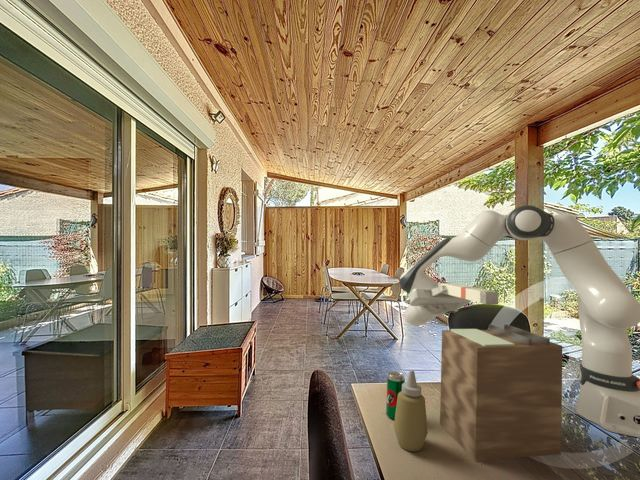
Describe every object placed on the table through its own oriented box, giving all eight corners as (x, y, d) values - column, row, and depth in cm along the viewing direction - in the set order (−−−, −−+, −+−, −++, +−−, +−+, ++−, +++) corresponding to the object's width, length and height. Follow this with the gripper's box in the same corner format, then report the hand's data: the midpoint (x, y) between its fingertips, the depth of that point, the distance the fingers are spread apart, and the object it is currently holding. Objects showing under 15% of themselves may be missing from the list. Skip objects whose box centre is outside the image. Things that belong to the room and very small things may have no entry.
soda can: (404, 422, 86) (405, 379, 86) (386, 419, 87) (387, 376, 87) (403, 412, 91) (404, 372, 91) (386, 410, 92) (387, 370, 92)
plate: (450, 330, 87) (450, 329, 87) (476, 330, 88) (476, 328, 88) (484, 346, 73) (484, 344, 73) (514, 345, 74) (514, 344, 74)
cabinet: (440, 423, 86) (442, 325, 86) (513, 419, 89) (514, 324, 90) (475, 461, 71) (477, 341, 72) (561, 453, 74) (562, 339, 75)
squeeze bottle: (386, 439, 78) (388, 367, 78) (410, 431, 82) (412, 363, 82) (409, 459, 71) (411, 380, 71) (434, 449, 74) (436, 374, 75)
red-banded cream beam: (438, 292, 98) (438, 282, 98) (448, 292, 98) (448, 282, 99) (485, 304, 76) (485, 292, 76) (498, 304, 77) (498, 292, 77)
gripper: (400, 294, 105) (417, 277, 94) (455, 294, 108) (478, 278, 97) (404, 312, 102) (422, 297, 90) (460, 312, 105) (485, 297, 93)
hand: (451, 287), depth 93 cm, fingers closed on red-banded cream beam, 3 cm apart
